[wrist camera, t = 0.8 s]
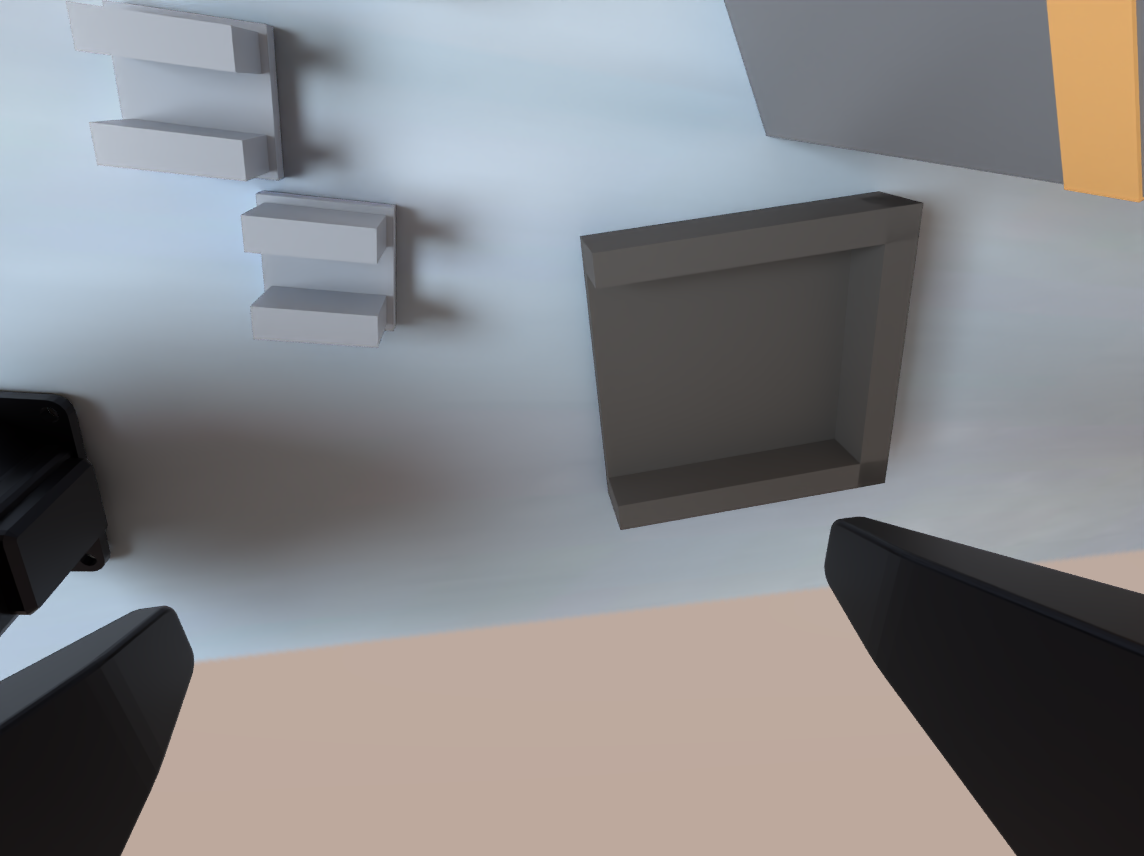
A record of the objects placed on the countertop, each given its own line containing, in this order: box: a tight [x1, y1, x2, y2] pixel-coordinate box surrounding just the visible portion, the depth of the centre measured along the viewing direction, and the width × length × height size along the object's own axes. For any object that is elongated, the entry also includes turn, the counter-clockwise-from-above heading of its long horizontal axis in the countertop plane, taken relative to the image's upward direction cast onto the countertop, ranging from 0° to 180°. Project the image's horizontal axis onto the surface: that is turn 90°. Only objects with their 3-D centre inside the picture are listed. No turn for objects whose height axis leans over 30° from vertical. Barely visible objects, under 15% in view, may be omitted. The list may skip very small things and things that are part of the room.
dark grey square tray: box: [580, 192, 923, 530], centre depth 21 cm, size 10×10×2 cm
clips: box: [66, 0, 396, 348], centre depth 16 cm, size 7×13×3 cm, turn 173°
